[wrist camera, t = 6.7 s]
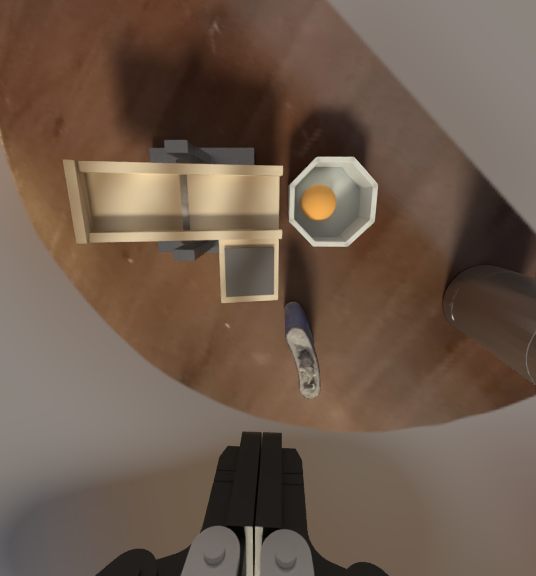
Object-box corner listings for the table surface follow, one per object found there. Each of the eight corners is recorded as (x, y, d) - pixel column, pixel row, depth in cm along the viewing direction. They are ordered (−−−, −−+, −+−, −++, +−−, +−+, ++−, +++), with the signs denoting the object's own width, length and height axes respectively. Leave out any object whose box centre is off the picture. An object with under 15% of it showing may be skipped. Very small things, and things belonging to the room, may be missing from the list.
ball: (340, 183, 33) (301, 183, 33) (337, 222, 34) (300, 221, 34) (334, 185, 36) (300, 185, 37) (332, 220, 37) (299, 219, 38)
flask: (281, 302, 41) (283, 337, 31) (302, 297, 41) (311, 330, 31) (297, 363, 44) (304, 413, 33) (318, 358, 43) (331, 407, 33)
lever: (277, 163, 30) (284, 159, 28) (275, 296, 34) (282, 305, 31) (77, 158, 27) (61, 152, 24) (100, 306, 31) (88, 317, 28)
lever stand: (254, 149, 36) (245, 129, 26) (255, 251, 39) (247, 269, 29) (153, 149, 36) (104, 129, 26) (162, 250, 40) (122, 268, 30)
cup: (365, 162, 36) (381, 156, 31) (359, 240, 39) (372, 246, 33) (288, 162, 36) (290, 156, 31) (286, 240, 39) (288, 246, 34)
